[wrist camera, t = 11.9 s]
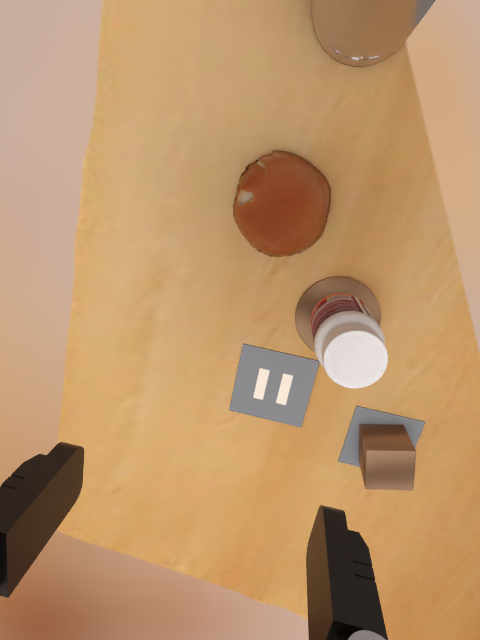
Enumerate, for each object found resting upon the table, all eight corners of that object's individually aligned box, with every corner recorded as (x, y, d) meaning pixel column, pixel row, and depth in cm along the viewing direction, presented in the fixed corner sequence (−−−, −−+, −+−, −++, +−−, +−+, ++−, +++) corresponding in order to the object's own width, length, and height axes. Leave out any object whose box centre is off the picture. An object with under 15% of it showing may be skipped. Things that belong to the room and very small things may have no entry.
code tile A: (243, 343, 45) (242, 344, 45) (319, 361, 45) (319, 361, 44) (229, 410, 48) (229, 410, 48) (301, 427, 48) (301, 427, 47)
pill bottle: (299, 327, 43) (301, 370, 32) (331, 280, 41) (344, 310, 30) (347, 355, 43) (364, 407, 33) (381, 310, 41) (411, 350, 31)
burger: (330, 249, 41) (334, 255, 36) (242, 256, 42) (236, 263, 38) (326, 147, 38) (330, 141, 34) (232, 159, 39) (224, 154, 35)
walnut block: (359, 424, 46) (366, 450, 42) (403, 424, 46) (416, 451, 41) (358, 459, 48) (365, 489, 43) (401, 460, 47) (413, 490, 42)
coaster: (306, 269, 42) (306, 270, 41) (390, 286, 41) (391, 287, 40) (287, 345, 45) (287, 347, 44) (365, 363, 44) (366, 365, 43)
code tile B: (356, 405, 46) (356, 406, 46) (425, 421, 45) (425, 422, 45) (338, 461, 48) (338, 461, 48) (403, 476, 48) (403, 477, 48)
